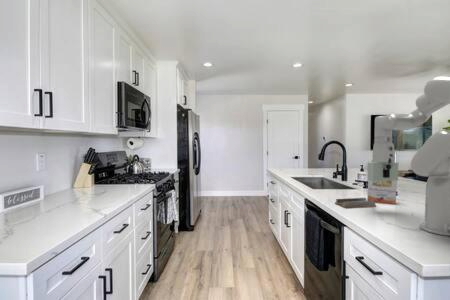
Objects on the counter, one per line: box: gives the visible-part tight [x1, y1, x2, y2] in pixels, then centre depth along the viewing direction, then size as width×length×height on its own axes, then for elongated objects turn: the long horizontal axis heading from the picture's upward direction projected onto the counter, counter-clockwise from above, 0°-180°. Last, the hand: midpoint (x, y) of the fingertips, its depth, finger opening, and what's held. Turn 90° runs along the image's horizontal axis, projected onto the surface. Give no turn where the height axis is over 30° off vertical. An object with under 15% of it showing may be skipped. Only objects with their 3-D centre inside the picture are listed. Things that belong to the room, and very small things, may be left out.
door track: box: [334, 197, 377, 209], centre depth 141 cm, size 10×18×3 cm, turn 100°
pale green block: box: [366, 161, 399, 181], centre depth 128 cm, size 4×14×9 cm, turn 100°
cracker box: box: [367, 180, 398, 205], centre depth 148 cm, size 14×6×21 cm, turn 62°
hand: (382, 176), depth 128 cm, fingers closed on pale green block, 4 cm apart
